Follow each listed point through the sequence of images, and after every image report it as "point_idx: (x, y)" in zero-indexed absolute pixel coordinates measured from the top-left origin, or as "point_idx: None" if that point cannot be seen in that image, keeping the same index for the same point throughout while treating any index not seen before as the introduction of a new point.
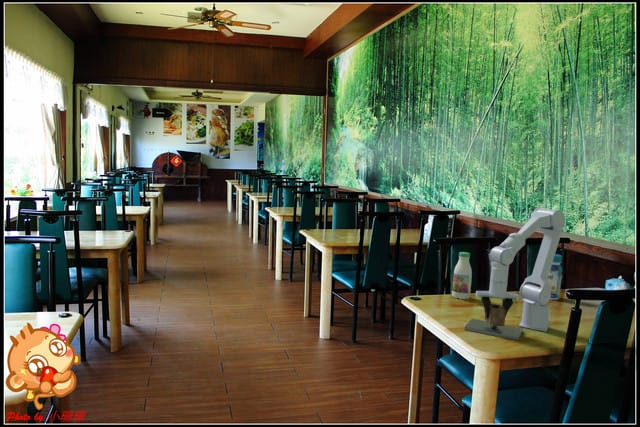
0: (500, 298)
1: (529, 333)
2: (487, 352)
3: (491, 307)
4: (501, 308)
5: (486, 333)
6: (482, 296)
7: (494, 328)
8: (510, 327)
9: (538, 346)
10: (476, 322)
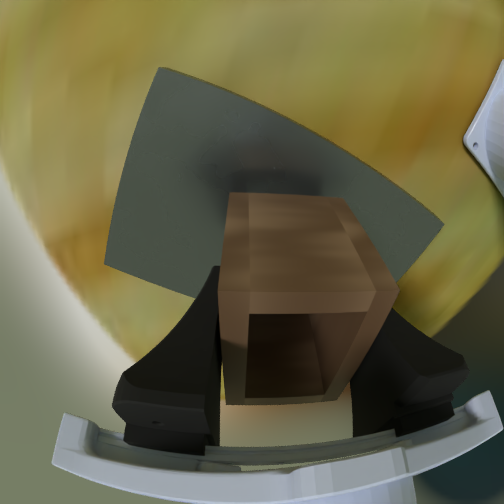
0: (337, 447)
1: (445, 235)
2: None
3: (234, 392)
4: (334, 366)
5: None
6: (135, 449)
7: None
8: (386, 224)
9: None
10: (174, 165)
